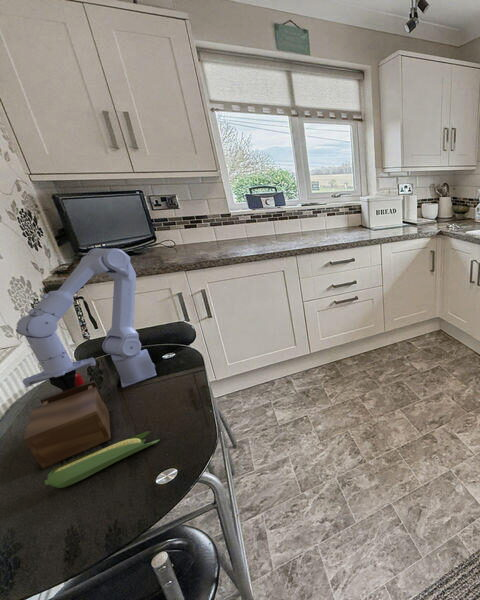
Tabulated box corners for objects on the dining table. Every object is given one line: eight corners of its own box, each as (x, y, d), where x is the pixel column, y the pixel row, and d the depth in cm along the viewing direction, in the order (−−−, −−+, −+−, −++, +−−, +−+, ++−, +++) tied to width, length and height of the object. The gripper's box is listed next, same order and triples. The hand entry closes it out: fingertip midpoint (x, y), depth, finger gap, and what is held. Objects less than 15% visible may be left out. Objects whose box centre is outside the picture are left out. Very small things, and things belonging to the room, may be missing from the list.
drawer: (54, 411, 96) (42, 391, 93) (104, 393, 102) (94, 373, 100) (48, 445, 83) (33, 422, 80) (105, 421, 89) (94, 400, 87)
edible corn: (53, 483, 72) (43, 468, 71) (160, 435, 84) (153, 421, 82) (50, 499, 69) (40, 483, 67) (162, 446, 80) (155, 432, 79)
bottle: (85, 382, 111) (78, 369, 109) (85, 387, 108) (78, 373, 106) (71, 387, 109) (64, 373, 107) (71, 392, 106) (63, 378, 104)
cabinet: (48, 436, 87) (32, 409, 84) (109, 412, 95) (95, 386, 91) (42, 469, 77) (23, 439, 73) (110, 439, 84) (96, 411, 81)
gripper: (11, 372, 83) (37, 414, 88) (86, 349, 92) (106, 389, 97) (16, 362, 88) (40, 402, 93) (86, 342, 97) (105, 380, 102)
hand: (74, 395), depth 96 cm, fingers closed, pressing on drawer
